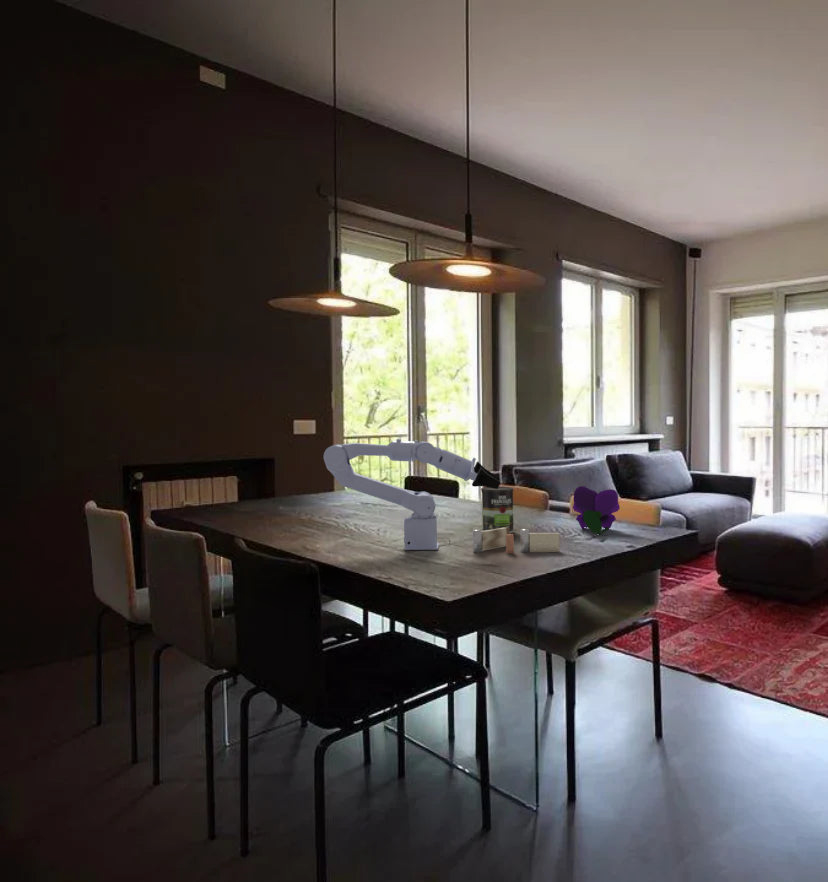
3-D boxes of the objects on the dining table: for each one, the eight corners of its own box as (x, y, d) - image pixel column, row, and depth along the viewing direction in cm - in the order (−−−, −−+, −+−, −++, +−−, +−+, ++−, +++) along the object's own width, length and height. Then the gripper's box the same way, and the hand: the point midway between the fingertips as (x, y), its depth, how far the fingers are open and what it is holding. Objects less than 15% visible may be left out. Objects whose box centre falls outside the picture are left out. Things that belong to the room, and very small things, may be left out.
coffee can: (518, 533, 201) (518, 489, 201) (487, 535, 199) (486, 490, 199) (507, 528, 211) (506, 485, 211) (477, 530, 209) (476, 487, 209)
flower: (623, 551, 196) (617, 524, 208) (626, 511, 189) (620, 486, 200) (574, 550, 199) (571, 523, 210) (575, 511, 191) (572, 486, 203)
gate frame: (473, 553, 174) (472, 531, 174) (473, 550, 177) (472, 529, 177) (560, 553, 172) (559, 530, 172) (558, 550, 175) (558, 528, 175)
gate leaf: (483, 550, 176) (483, 532, 176) (479, 549, 178) (479, 531, 177) (509, 545, 182) (509, 527, 182) (505, 544, 183) (505, 527, 183)
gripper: (460, 455, 175) (506, 474, 175) (458, 448, 189) (500, 465, 190) (450, 478, 176) (495, 497, 176) (448, 469, 190) (490, 487, 190)
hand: (497, 482), depth 183 cm, fingers open, 7 cm apart
